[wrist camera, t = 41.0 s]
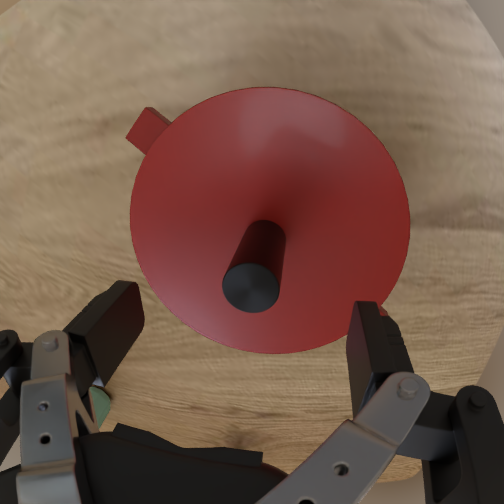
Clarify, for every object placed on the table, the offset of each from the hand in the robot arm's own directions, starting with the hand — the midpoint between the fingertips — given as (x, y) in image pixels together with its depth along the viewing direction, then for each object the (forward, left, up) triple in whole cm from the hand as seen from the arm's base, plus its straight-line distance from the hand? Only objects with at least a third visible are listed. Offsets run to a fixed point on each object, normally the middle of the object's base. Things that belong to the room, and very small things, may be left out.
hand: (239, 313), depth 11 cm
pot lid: (0, 0, -8) cm, 8 cm away
